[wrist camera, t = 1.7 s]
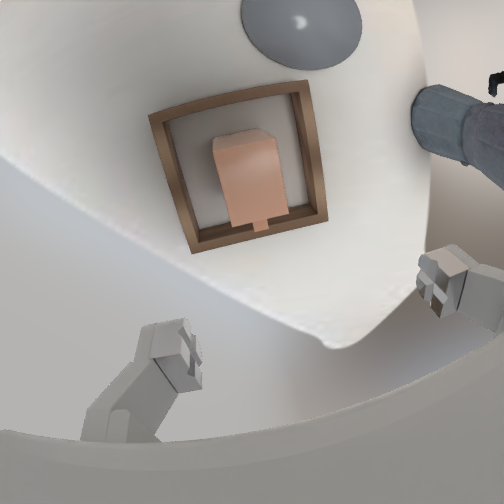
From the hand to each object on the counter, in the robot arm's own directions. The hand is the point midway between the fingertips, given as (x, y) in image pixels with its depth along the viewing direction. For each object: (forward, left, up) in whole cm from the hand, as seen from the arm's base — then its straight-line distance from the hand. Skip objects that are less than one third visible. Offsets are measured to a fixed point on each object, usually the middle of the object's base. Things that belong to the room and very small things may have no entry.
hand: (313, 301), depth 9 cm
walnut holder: (0, 0, -22) cm, 22 cm away
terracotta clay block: (0, 0, -22) cm, 22 cm away
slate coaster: (-14, +9, -22) cm, 27 cm away
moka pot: (-2, +24, -22) cm, 32 cm away
